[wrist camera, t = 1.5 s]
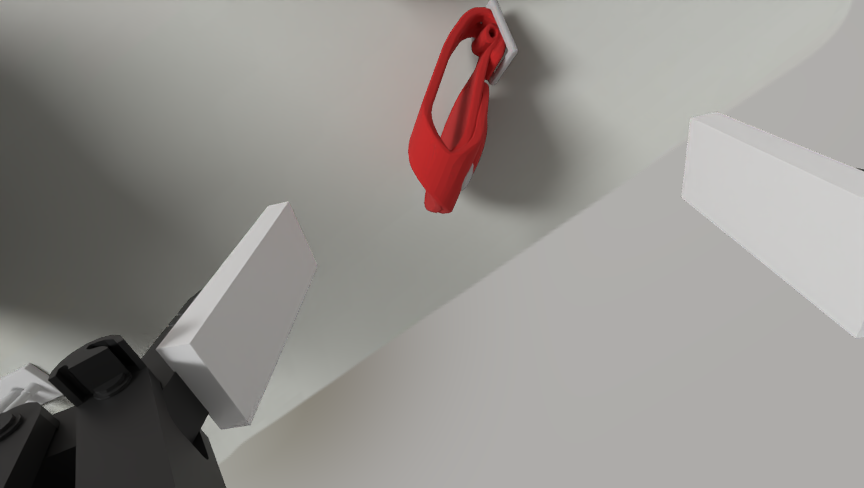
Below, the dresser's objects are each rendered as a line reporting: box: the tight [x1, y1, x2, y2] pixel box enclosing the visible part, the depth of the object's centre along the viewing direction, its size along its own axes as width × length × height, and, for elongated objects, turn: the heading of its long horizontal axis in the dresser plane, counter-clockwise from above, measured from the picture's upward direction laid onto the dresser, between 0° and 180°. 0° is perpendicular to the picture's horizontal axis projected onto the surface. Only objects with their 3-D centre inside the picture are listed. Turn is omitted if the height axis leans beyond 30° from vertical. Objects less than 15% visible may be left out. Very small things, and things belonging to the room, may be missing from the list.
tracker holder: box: [408, 0, 518, 214], centre depth 23 cm, size 12×4×10 cm, turn 160°
